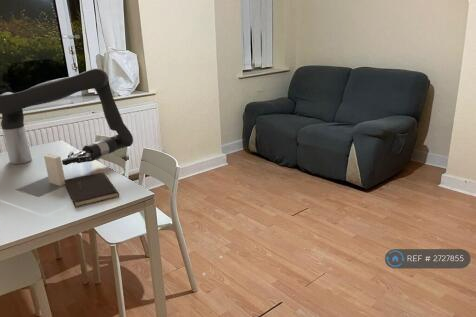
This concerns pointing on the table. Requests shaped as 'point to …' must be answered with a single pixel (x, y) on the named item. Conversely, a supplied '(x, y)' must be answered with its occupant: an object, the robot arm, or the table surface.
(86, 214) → the table surface
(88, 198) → the hardcover book
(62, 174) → the cream box
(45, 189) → the charcoal mat
